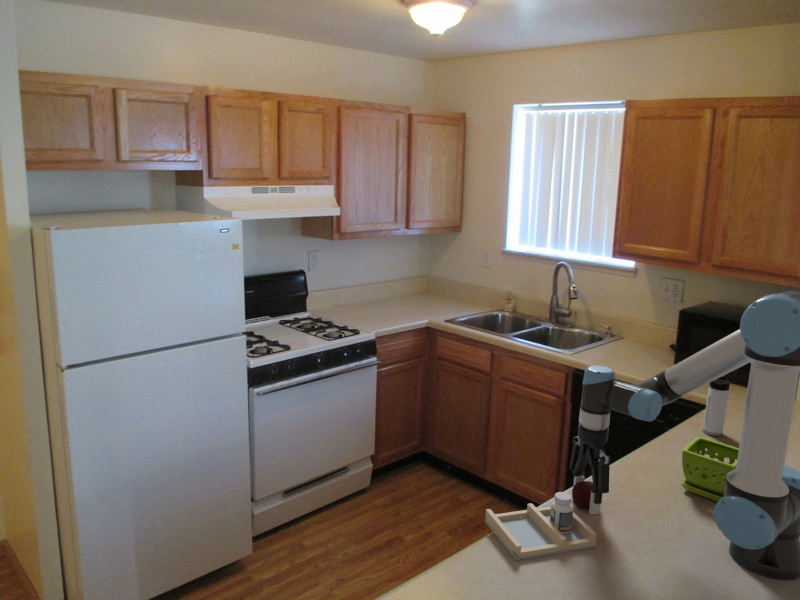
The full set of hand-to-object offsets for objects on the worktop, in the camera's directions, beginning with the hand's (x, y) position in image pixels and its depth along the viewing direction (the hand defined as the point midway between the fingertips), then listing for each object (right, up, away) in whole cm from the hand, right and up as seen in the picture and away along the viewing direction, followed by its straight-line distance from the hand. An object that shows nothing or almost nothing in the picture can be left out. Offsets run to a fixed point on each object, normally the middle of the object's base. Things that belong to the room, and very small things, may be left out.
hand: (585, 505), depth 168 cm
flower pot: (+38, 0, +11) cm, 40 cm away
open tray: (-16, -3, -14) cm, 21 cm away
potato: (0, -1, 0) cm, 1 cm away
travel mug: (+60, +8, +53) cm, 81 cm away
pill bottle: (-10, -2, -12) cm, 16 cm away
